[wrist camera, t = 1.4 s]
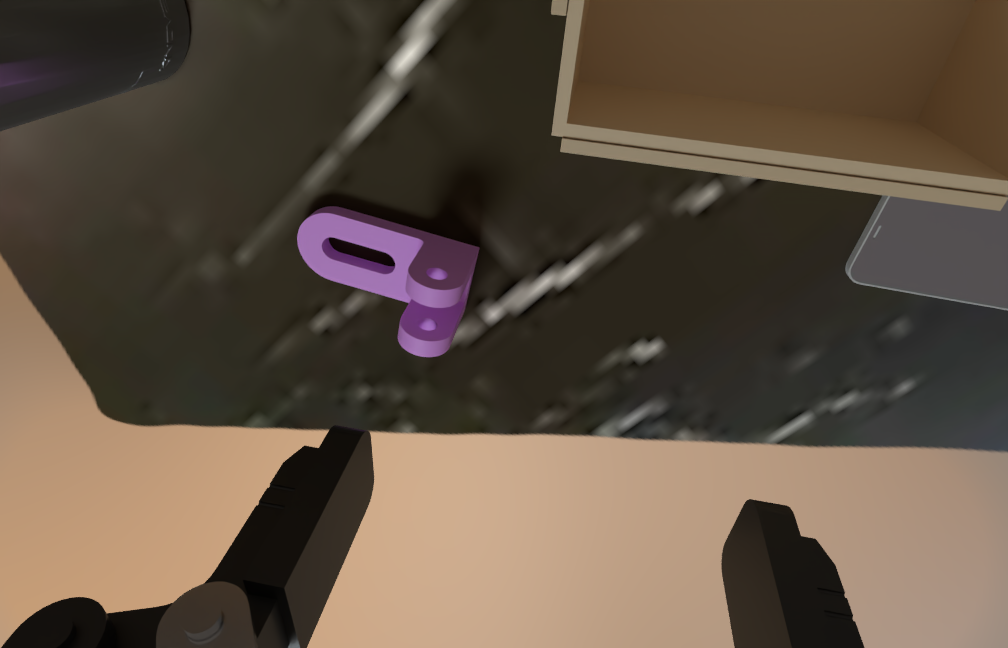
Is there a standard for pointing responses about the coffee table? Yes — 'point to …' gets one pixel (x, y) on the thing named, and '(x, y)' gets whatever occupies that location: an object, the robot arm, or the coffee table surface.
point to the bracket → (396, 271)
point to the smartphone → (935, 251)
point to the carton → (795, 91)
